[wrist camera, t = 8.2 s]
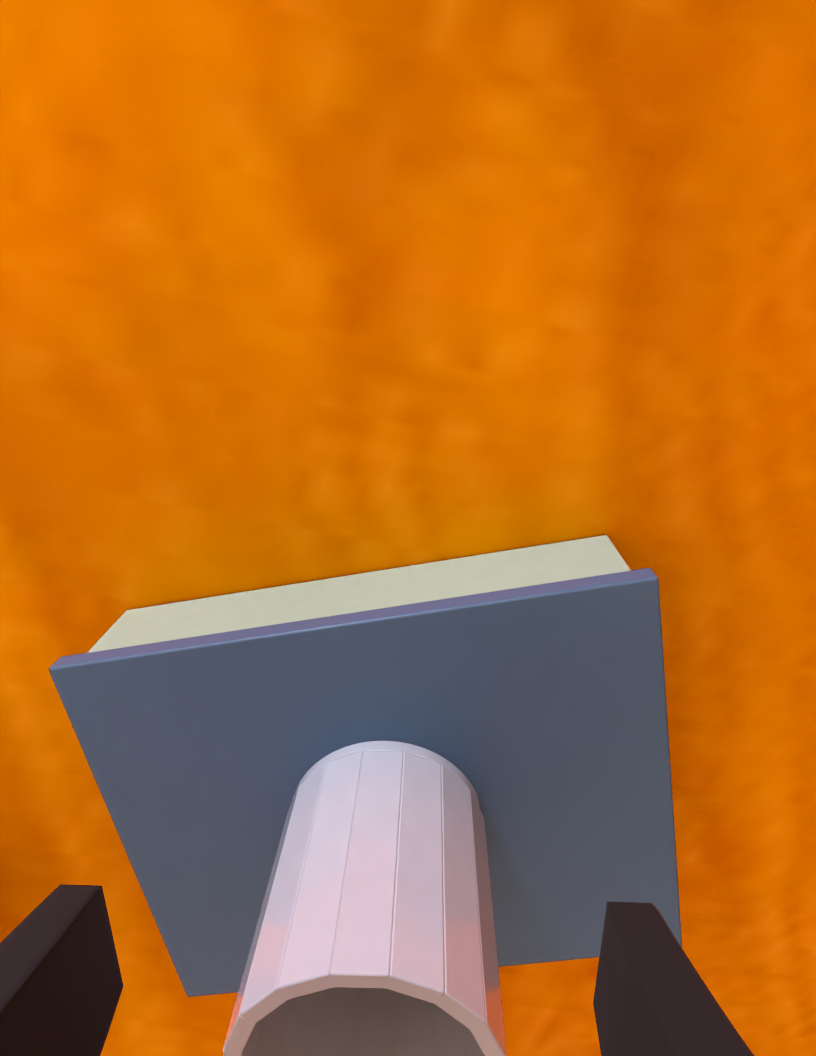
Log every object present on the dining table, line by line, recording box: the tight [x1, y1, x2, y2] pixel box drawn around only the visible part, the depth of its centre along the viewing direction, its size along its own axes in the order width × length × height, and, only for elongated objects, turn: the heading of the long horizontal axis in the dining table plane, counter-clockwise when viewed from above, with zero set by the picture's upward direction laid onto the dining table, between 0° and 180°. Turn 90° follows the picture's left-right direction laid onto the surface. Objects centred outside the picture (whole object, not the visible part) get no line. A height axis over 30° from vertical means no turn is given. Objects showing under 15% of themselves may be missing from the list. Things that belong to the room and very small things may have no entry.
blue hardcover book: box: [49, 535, 682, 997], centre depth 19 cm, size 15×12×4 cm
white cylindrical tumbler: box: [223, 740, 507, 1056], centre depth 15 cm, size 5×5×6 cm
